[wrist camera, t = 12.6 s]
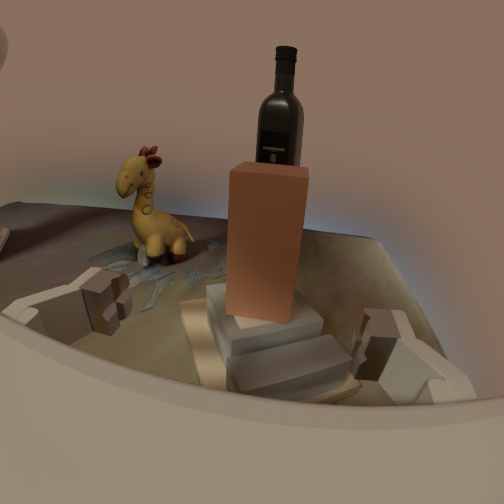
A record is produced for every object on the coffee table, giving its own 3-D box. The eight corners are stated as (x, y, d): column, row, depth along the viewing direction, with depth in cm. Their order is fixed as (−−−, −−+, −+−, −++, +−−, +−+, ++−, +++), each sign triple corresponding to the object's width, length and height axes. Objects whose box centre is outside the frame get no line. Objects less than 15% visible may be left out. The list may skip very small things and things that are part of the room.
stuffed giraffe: (86, 260, 37) (79, 145, 31) (183, 232, 50) (189, 139, 44) (141, 318, 28) (134, 157, 22) (254, 269, 41) (270, 152, 35)
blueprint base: (179, 309, 29) (176, 265, 27) (278, 295, 33) (283, 253, 31) (220, 436, 17) (218, 391, 14) (357, 392, 20) (377, 345, 18)
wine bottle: (283, 251, 44) (302, 43, 31) (247, 244, 45) (261, 43, 33) (293, 238, 49) (309, 53, 36) (260, 232, 50) (273, 52, 38)
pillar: (225, 314, 21) (229, 170, 17) (238, 283, 25) (244, 161, 21) (288, 323, 20) (308, 178, 16) (292, 290, 24) (307, 167, 20)
